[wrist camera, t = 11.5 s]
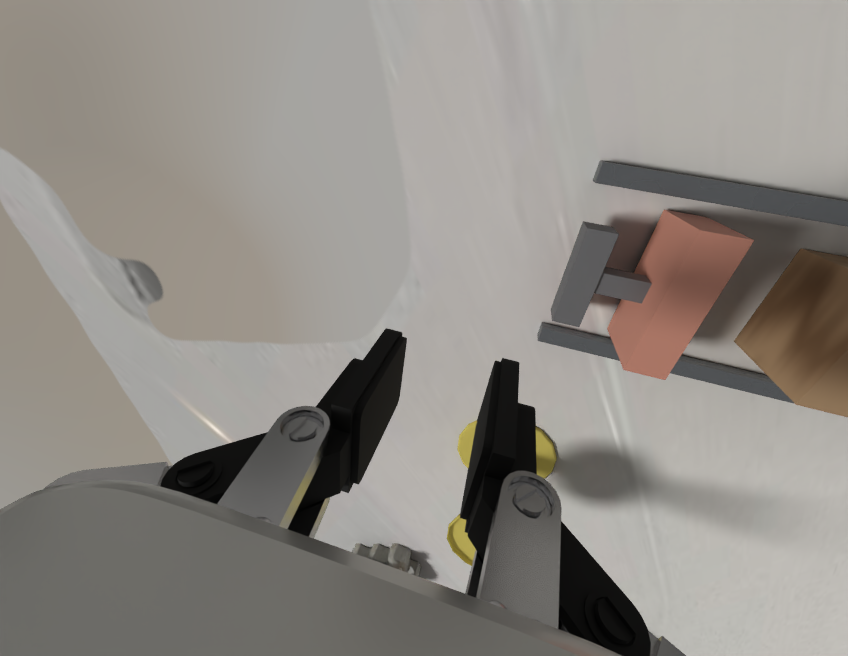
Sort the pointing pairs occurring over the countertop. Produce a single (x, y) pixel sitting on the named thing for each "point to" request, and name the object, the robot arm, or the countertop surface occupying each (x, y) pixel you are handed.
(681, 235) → the block
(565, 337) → the vise bed
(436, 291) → the countertop surface
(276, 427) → the robot arm
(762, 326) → the block
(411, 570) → the egg carton
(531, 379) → the countertop surface
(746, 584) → the countertop surface
